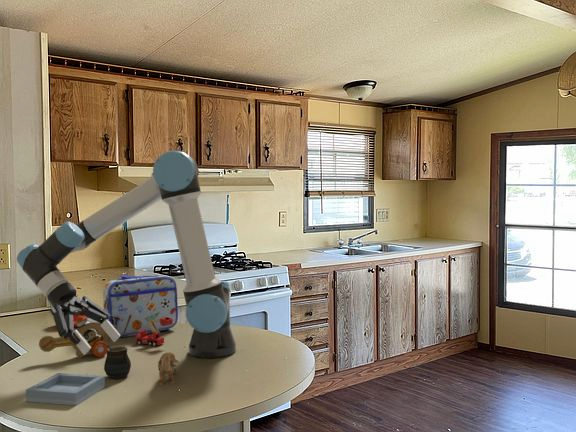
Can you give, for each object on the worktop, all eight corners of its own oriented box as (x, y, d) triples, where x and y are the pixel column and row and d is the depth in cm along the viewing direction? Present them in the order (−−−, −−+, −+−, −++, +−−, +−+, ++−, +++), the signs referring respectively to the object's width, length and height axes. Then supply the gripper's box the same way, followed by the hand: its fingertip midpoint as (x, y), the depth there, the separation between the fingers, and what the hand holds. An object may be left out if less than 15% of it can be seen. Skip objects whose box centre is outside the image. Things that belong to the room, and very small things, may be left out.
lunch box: (106, 341, 195) (104, 279, 194) (99, 335, 204) (97, 275, 203) (180, 330, 209) (179, 272, 209) (171, 324, 218) (169, 269, 217)
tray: (105, 387, 148) (104, 375, 148) (76, 405, 135) (76, 393, 135) (58, 383, 151) (58, 373, 151) (26, 401, 138) (25, 389, 138)
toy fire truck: (140, 341, 194) (139, 314, 194) (173, 345, 189) (172, 316, 189) (134, 344, 191) (133, 316, 191) (167, 347, 186) (167, 319, 185)
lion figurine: (179, 387, 147) (178, 353, 147) (158, 389, 146) (158, 355, 146) (176, 370, 162) (176, 339, 161) (158, 372, 160) (157, 341, 160)
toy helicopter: (112, 355, 178) (110, 312, 177) (41, 367, 166) (40, 321, 166) (105, 349, 185) (104, 308, 184) (37, 360, 173) (36, 316, 173)
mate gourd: (136, 373, 160) (135, 338, 159) (122, 381, 152) (121, 345, 152) (113, 371, 161) (112, 337, 161) (98, 380, 154) (97, 344, 153)
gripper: (78, 291, 174) (121, 342, 170) (17, 307, 150) (65, 366, 146) (92, 274, 172) (135, 325, 168) (33, 288, 148) (82, 348, 144)
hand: (103, 344), depth 157 cm, fingers open, 13 cm apart
